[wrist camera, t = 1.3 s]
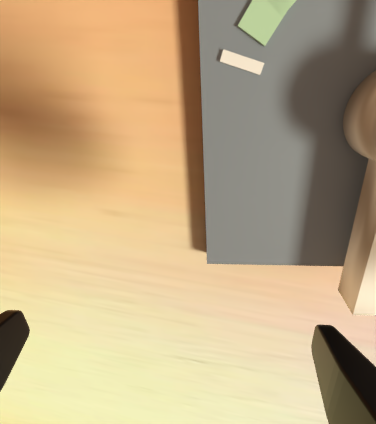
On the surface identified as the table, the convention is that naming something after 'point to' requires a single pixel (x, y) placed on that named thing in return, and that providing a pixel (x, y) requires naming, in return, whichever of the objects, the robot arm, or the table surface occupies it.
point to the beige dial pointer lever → (362, 203)
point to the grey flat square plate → (281, 127)
